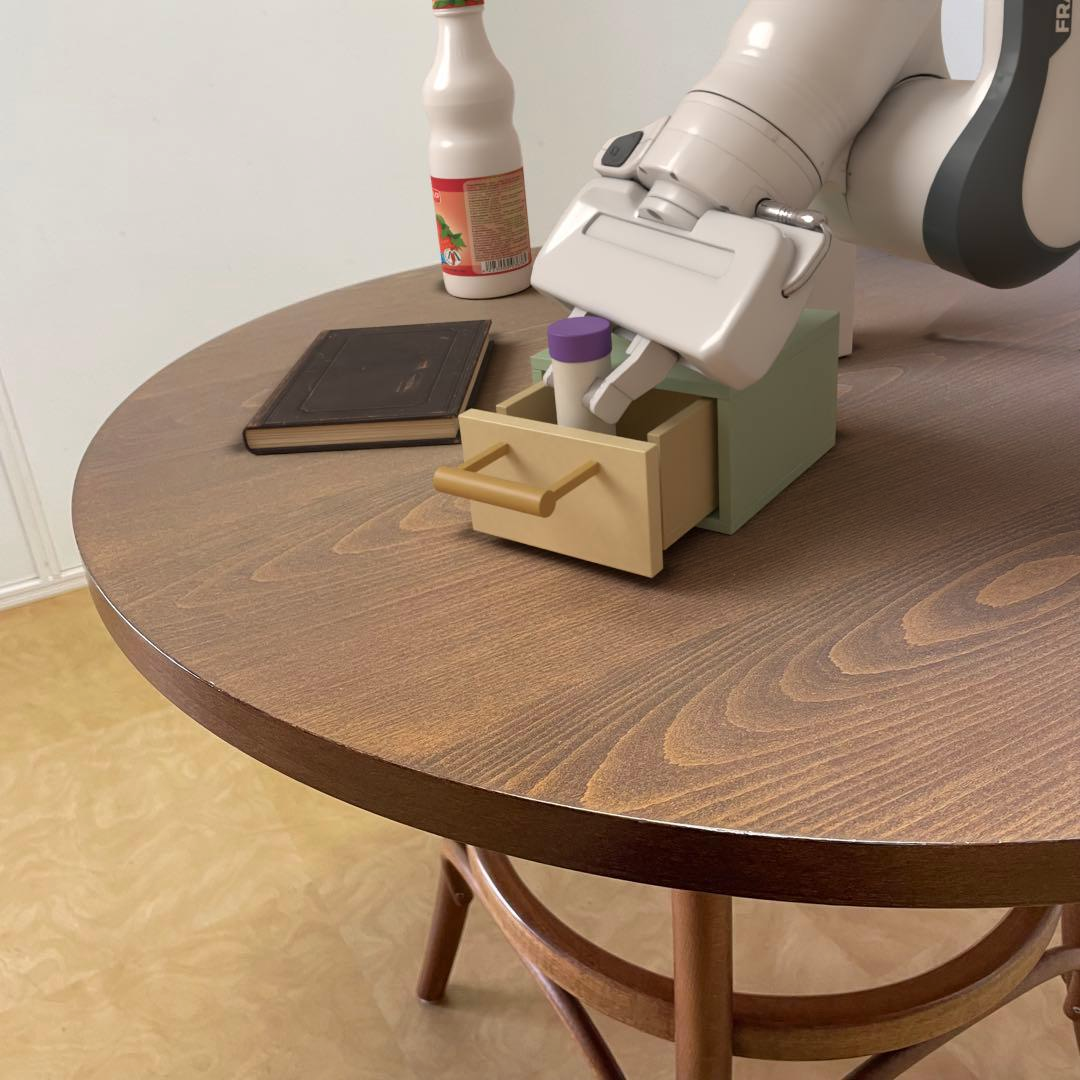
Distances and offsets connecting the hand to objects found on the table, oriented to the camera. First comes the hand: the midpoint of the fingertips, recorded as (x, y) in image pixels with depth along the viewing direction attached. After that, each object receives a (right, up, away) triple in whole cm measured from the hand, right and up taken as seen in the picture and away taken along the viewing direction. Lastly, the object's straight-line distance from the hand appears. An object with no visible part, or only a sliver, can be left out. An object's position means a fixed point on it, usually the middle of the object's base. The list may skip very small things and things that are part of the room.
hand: (575, 403), depth 62 cm
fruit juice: (-7, +19, +57) cm, 61 cm away
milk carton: (+19, +8, +30) cm, 36 cm away
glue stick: (+1, -4, +3) cm, 5 cm away
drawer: (+1, -7, +4) cm, 8 cm away
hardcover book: (-15, +4, +30) cm, 34 cm away
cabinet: (+8, -3, +12) cm, 15 cm away
